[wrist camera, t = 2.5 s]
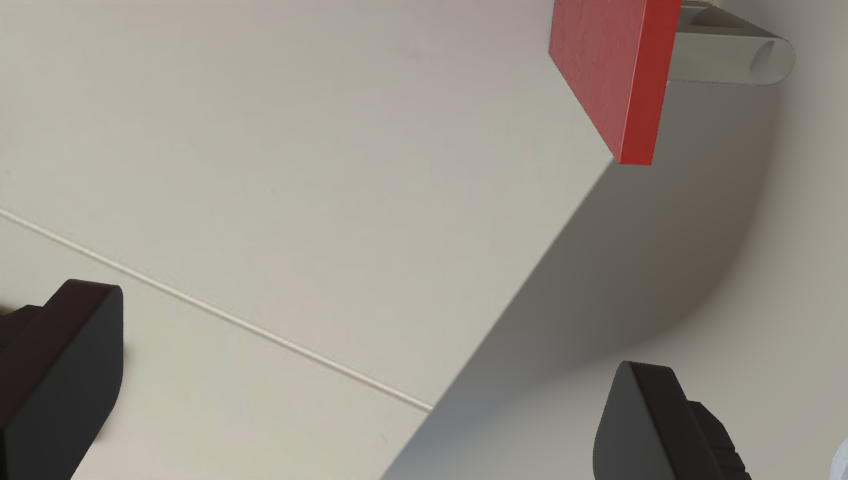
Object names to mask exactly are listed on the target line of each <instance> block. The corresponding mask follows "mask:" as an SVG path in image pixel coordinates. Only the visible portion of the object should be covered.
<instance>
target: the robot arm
mask: <svg viewBox="0 0 848 480" xmlns="http://www.w3.org/2000/svg"><path fill="white" fill-rule="evenodd" d="M122 376H123V293H122V289H121V288H120V286H118V285H111V284H104V283H97V282H90V281H84V280H77V279H69V280H67V281H66V282H65V283H64V284H63V285H62V286H61V287H60V288H59V289H58V290H57V292H56V293H55V294H54V295H53V296H52V297H51V298H50V299H49V300H48V302H47V303H46V304H45V305H44V306H43V307H41V306H34V305H26V306H24V307H22V308H20V309H18V310H16V311H14V312H12V313H10V314H8V315H6V316H4V317H2V318H0V480H70V479H71V477H72V476H73V474H74V472H75V471H76V469H77V467H78V466H79V464H80V462H81V461H82V459H83V457H84V456H85V454H86V452H87V451H88V449H89V447H90V446H91V444H92V442H93V441H94V439H95V437H96V436H97V434H98V432H99V431H100V429H101V427H102V426H103V424H104V422H105V421H106V419H107V417H108V416H109V414H110V412H111V411H112V409H113V407H114V405H115V403H116V400H117V397H118V394H119V391H120V387H121V382H122ZM593 472H594V476H595V480H752V479H751V477H750V475H749V473H747V472H745V466H744V464H743V462H742V460H741V458H740V456H739V454H738V453H736V452H735V447H734V445H733V443H732V441H731V439H730V437H729V435H728V433H727V431H726V430H725V427H724V426H723V424H722V423H721V422H719V420H718V419H717V418H716V417H715V416H713V414H711V413H710V412H709V411H708V410H707V409H706V408H705V407H704V406H703V405H702V404H701V403H700V402H695V401H688V400H687V399H686V396H685V395H684V392H683V390H682V388H681V386H680V384H679V382H678V380H677V378H676V376H675V374H674V372H673V370H672V369H671V368H670V367H665V366H659V365H652V364H645V363H638V362H632V361H623V362H622V363H621V364H620V365H619V367H618V369H617V371H616V374H615V377H614V380H613V383H612V386H611V390H610V393H609V396H608V399H607V402H606V405H605V408H604V412H603V415H602V418H601V421H600V424H599V427H598V431H597V434H596V437H595V442H594V448H593Z"/></svg>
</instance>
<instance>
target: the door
mask: <svg viewBox="0 0 848 480" xmlns="http://www.w3.org/2000/svg"><path fill="white" fill-rule="evenodd" d="M549 55H550V57H551V58H552V60H553V62H554V63H555V65H556V66H557V68H558V69H559V71H560V73H561V74H562V76H563V77H564V79H565V80H566V82H567V84H568V85H569V87H570V88H571V90H572V91H573V93H574V95H575V96H576V98H577V99H578V101H579V102H580V104H581V106H582V107H583V109H584V110H585V112H586V113H587V115H588V117H589V118H590V120H591V121H592V123H593V124H594V126H595V128H596V129H597V131H598V132H599V134H600V135H601V137H602V139H603V140H604V142H605V143H606V145H607V146H608V148H609V150H610V151H611V153H612V154H613V156H614V157H615V159H616V161H617V162H618V163H619V164H632V165H651V163H652V158H653V153H654V147H655V142H656V136H657V131H658V126H659V120H660V115H661V110H662V104H663V99H664V94H665V88H666V83H667V80H671V81H688V82H706V83H723V84H741V85H758V86H770V85H775V84H777V83H779V82H781V81H783V80H784V79H785V78H786V77H787V76H788V75H789V74H790V73H791V71H792V70H793V67H794V64H795V59H796V56H795V51H794V48H793V46H792V45H791V44H790V43H789V42H788V41H787V40H785V39H783V38H781V37H779V36H777V35H774V34H772V33H770V32H768V31H766V30H764V29H762V28H760V27H758V26H756V25H753V24H751V23H749V22H747V21H745V20H743V19H741V18H739V17H737V16H735V15H732V14H730V13H728V12H726V11H724V10H722V9H720V8H718V7H716V6H713V5H711V4H709V3H707V2H700V1H684V0H555V3H554V12H553V20H552V28H551V36H550V45H549Z"/></svg>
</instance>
